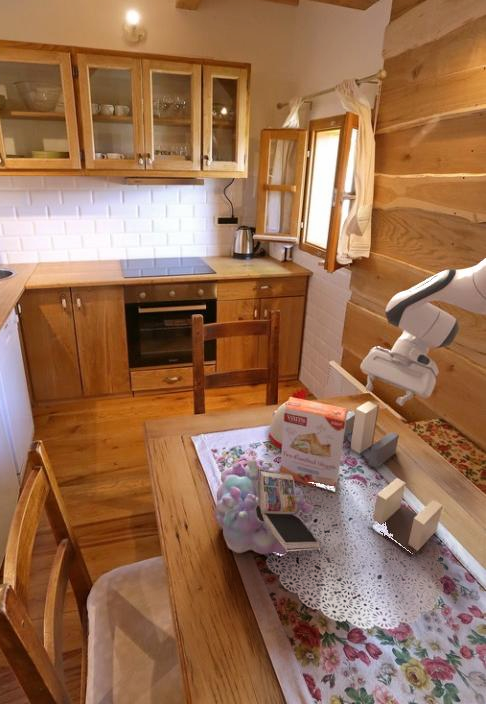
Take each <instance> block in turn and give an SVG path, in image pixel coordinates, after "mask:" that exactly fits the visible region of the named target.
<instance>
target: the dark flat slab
mask: <svg viewBox="0 0 486 704" xmlns="http://www.w3.org/2000/svg"><path fill="white" fill-rule="evenodd" d="M417 515H418V513H416V512H414V511H412V510H411V509H410V508H408V507H406V506H405V505H403V503H401V507H400V508H399V509H398V510H397V511H396V512H395V513H394V514H393V515H391V516H390V517H389V518H388V519H387V520H386V521H385V522H386V526H387V530H388V533H389V534H390V533H391V534H393V537H392V536H391V537H392V538H393V539H394V540H396V541H397V542H398V543H400V544H401V545H402V546H403V547H405V548H406V549H407V550H409V551H410V552H411V553H410V552H409V551H407V550H406V549H405V548H403V547H402V546H400V545H399V544H398V543H396V542H395V541H394V540H392V539H391V538H389V537H388V536H387V535H385V536H384V533H383V532H381V531H380V532H381V533H383V536H382V537H383V539H385V540H387V541H388V542H389V543H391V544H392V545H394V546H395V547H396V548H398V549H399V550H400V551H402V552H403V553H404V554H406V555H407V556H409V558H412V557H414V556H415V554H416V553H417V552H418V551H417V550H416V549H414V548H413V547H411V546H410V545H409V544H408V543H409V539H410V534H411V530H412V525H413V520H414V518H415V517H416V516H417ZM385 522H384V524H385ZM384 526H385V525H384ZM412 553H413V554H412Z"/></svg>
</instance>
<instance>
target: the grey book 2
mask: <svg viewBox="0 0 486 704" xmlns="http://www.w3.org/2000/svg"><path fill="white" fill-rule="evenodd" d="M399 437H400V436H399V434H398V433H396V432H394V431H391V432H390V433H388V434H386V435H385V436H383V437H382V438H381V439H379V440H378V441H376V442H374V443H373V445H372V446H370V452H369V460H368V465H369V466H370V467H372V468H374V469H377V468H378V467H380V466H381V465H382V464H384V463H385V462H386V461H387V460H388V459H390V458H391V457H392V456H394V455H395V454H397V449H398V448H397V447H398V444H399V443H398V442H399Z"/></svg>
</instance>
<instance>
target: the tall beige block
mask: <svg viewBox="0 0 486 704" xmlns="http://www.w3.org/2000/svg"><path fill="white" fill-rule="evenodd" d="M379 408H380V405H379V404H377V403H375V402H373V401H370V400H368V401H366V402H364V403H363V404H361V405H360V406H358V407H356V408H355V411H354V412H355V419H354V427H353V432H352V433H351V441H350V442H351V443H350V449H351V450H353V451H354V452H356V453H358V454H361V453H363V452H364V451H366V450H367V449H369V448H371V446H372V445H374V441H375V440H374V439H375V434H376V428H377V423H378V422H377V421H378V416H379V415H378V414H379Z"/></svg>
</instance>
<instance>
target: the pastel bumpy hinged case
mask: <svg viewBox="0 0 486 704" xmlns="http://www.w3.org/2000/svg"><path fill="white" fill-rule="evenodd" d="M263 462H264V461H263V460H262V459H256V456H255V455H251V456H249V457H248V459H247V460H246V465H245V466H244V465H243V464H242V463H241V462H240V461H237V462H235V463H234V464H233V467H227V468H225V469H224V470H223V471H222V472H221V475H220V482H221V484H220V485H219V487H218V488H217V491H216V505H215V507H214V518H215V521H216V523H217V525H218V526H219V528H220V529H221V530H222V534H223V535H222V536H223V539H224V541H225V543H226V546H227V548H228V549H229V550H231V551H232V552H234V553H236V554H242V553H246V552H248V551H253V552H255V553H256V554H259V555H269V554H272V553H271V552H276V553H279V554H285V553H287V552H288V553H294V552H307V551H319V549H320V550H321V547H320V546H319V541H318V539H317V538H316V537H315V536H314V534H313V533H312V532H311V530H310V529H309V528H308V527H307V525H306V524H305V520H304V519H303V518H302V517H301V516H300V515H299V513H300V512H302V513H303V514H304V515H306V516H309V515H310V514H311V513H312V511H313V505H312V504H311V503H309V502H307V501H306V500H305V498H304V497H305V495H304V493H303V491H302V489H301V487H300V486H297V487H296V486H295V481H294V479H293V477H292V475H289V474H284V473H280V471H277V470H276V469H275V468H273V467H270V466H269V465H268V464H266V463H263ZM268 553H269V554H268ZM288 553H287V554H288Z"/></svg>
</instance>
